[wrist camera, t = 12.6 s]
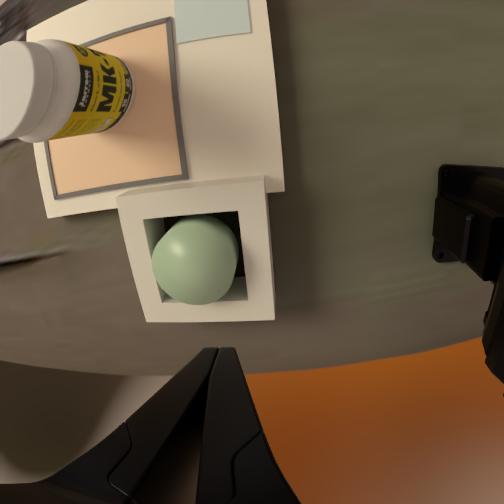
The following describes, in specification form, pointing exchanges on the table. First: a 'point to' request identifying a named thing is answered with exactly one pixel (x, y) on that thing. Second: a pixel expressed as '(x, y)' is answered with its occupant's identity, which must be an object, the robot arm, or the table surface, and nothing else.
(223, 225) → the button
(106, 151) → the colouring board
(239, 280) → the button box
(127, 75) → the supplement bottle
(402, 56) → the table surface
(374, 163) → the table surface
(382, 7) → the table surface
